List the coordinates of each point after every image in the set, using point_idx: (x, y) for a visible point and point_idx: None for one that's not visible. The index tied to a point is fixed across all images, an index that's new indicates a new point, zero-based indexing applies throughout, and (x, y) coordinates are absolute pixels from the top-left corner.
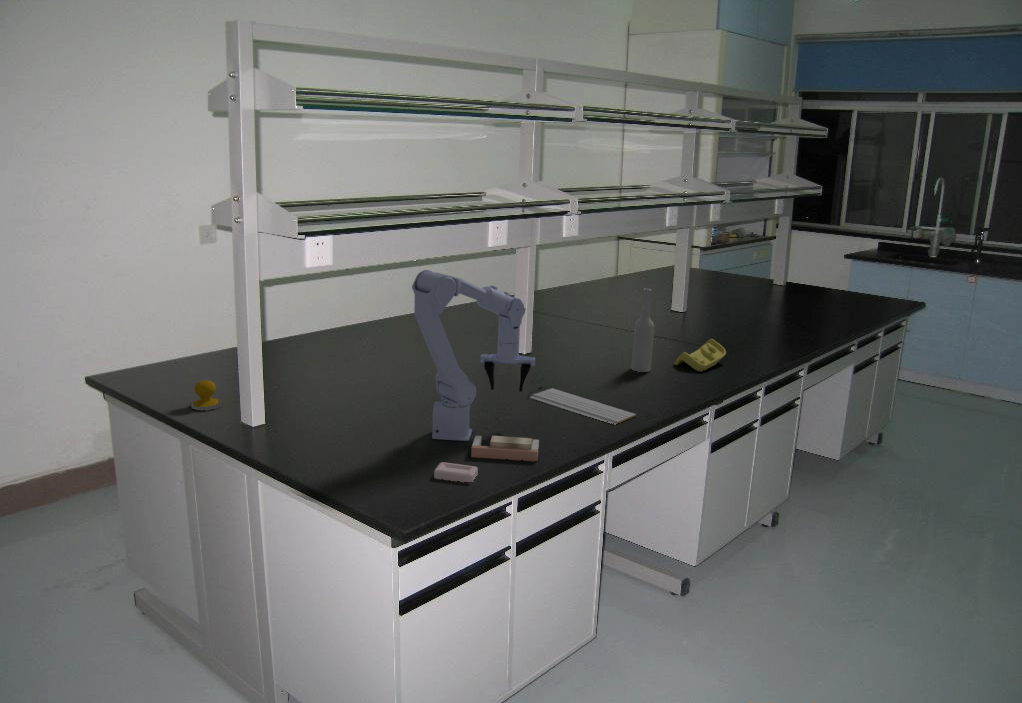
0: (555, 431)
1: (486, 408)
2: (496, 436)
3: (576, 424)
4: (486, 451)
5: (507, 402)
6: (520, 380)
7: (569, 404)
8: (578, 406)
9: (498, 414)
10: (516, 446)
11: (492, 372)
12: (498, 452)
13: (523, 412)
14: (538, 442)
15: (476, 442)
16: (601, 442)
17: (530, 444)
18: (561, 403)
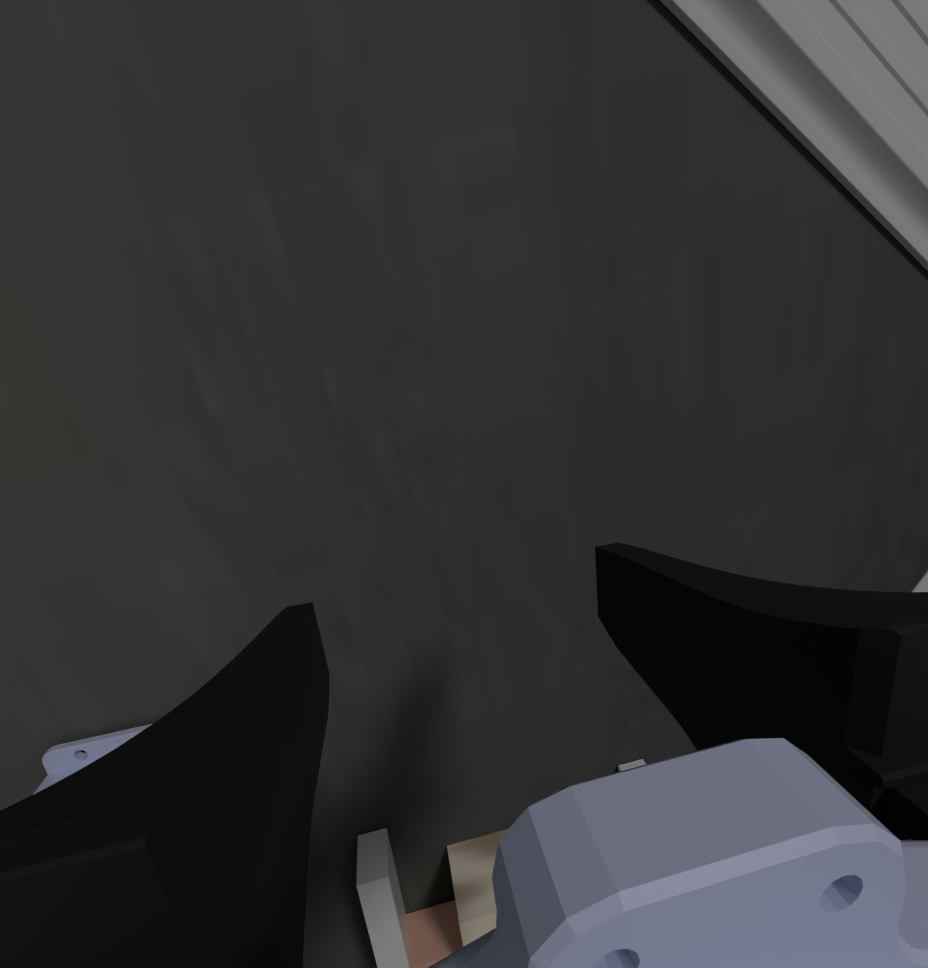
0: (709, 531)
1: (203, 253)
2: (482, 922)
3: (817, 387)
4: None
5: (324, 27)
6: (682, 724)
7: (820, 18)
8: (876, 56)
9: (338, 364)
10: None
11: (295, 964)
12: None
13: (500, 263)
14: None
15: (388, 946)
16: (898, 585)
17: None
18: (767, 13)
